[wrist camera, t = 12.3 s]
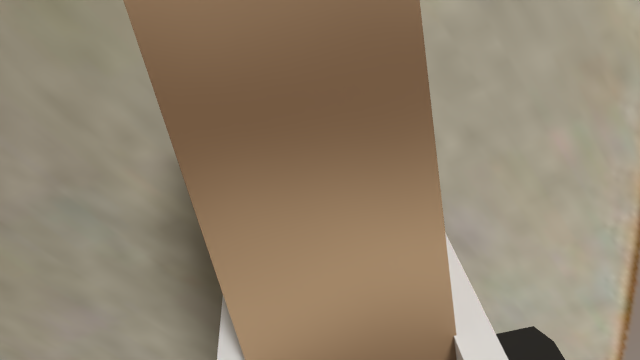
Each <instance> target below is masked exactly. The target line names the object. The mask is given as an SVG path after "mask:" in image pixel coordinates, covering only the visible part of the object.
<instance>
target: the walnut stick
mask: <svg viewBox="0 0 640 360" xmlns="http://www.w3.org/2000/svg"><path fill="white" fill-rule="evenodd" d="M124 3H125V6H126V9H127V12H128V15H129V18H130V21H131V24H132V27H133V30H134V33H135V36H136V39H137V42H138V45H139V48H140V51H141V54H142V57H143V60H144V63H145V65H146V68H147V71H148V74H149V77H150V80H151V83H152V86H153V89H154V92H155V95H156V98H157V101H158V104H159V107H160V110H161V113H162V116H163V119H164V122H165V125H166V128H167V130H168V133H169V136H170V139H171V142H172V145H173V148H174V151H175V154H176V157H177V160H178V163H179V166H180V169H181V172H182V175H183V178H184V181H185V184H186V187H187V190H188V193H189V196H190V198H191V201H192V204H193V207H194V210H195V213H196V216H197V219H198V222H199V225H200V228H201V231H202V234H203V237H204V240H205V243H206V246H207V249H208V252H209V255H210V258H211V261H212V263H213V266H214V269H215V272H216V275H217V278H218V281H219V284H220V287H221V290H222V293H223V296H224V299H225V302H226V305H227V308H228V311H229V314H230V317H231V320H232V323H233V326H234V328H235V331H236V334H237V337H238V340H239V343H240V346H241V349H242V352H243V355H244V358H245V360H457V358H456V350H455V341H454V336H456V326H455V317H454V308H453V299H452V290H451V281H450V272H449V263H448V254H447V245H446V236H445V226H444V217H443V208H442V199H441V190H440V181H439V172H438V163H437V154H436V145H435V136H434V127H433V118H432V109H431V100H430V91H429V82H428V73H427V64H426V55H425V46H424V37H423V28H422V18H421V9H420V0H124Z"/></svg>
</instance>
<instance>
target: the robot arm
mask: <svg viewBox="0 0 640 360" xmlns="http://www.w3.org/2000/svg"><path fill="white" fill-rule="evenodd" d="M445 236H446V245H447V254H448V263H449V272H450V281H451V290H452V299H453V308H454V317H455V326H456V336H454V341H455V350H456V358H457V360H565V359H564V357H563V356H562V354H561V352H560V351H559V349H558V347H557V346H556V344H555V343H554V341H552V340H551V339H550V338H548V337H547V336H546V335H544V334H543V333H542V332H540V331H539V330H538V329H536V328H535V327H534V326H533V327H528V328H523V329H518V330H513V331H509V332H504V333H499V334H495V332H494V330H493V328H492V326H491V324H490V322H489V320H488V318H487V316H486V314H485V312H484V310H483V308H482V306H481V304H480V302H479V300H478V298H477V296H476V294H475V292H474V290H473V288H472V286H471V284H470V282H469V280H468V278H467V276H466V274H465V272H464V270H463V268H462V266H461V264H460V262H459V260H458V258H457V256H456V254H455V252H454V250H453V247H452V245H451V243H450V241H449V239H448V237H447V235H446V233H445ZM217 360H245V358H244V355H243V352H242V349H241V346H240V343H239V340H238V337H237V334H236V331H235V328H234V326H233V323H232V320H231V317H230V314H229V311H228V308H227V305H226V302H225V299H224V296H223V298H222V309H221V320H220V332H219V343H218V354H217Z"/></svg>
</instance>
